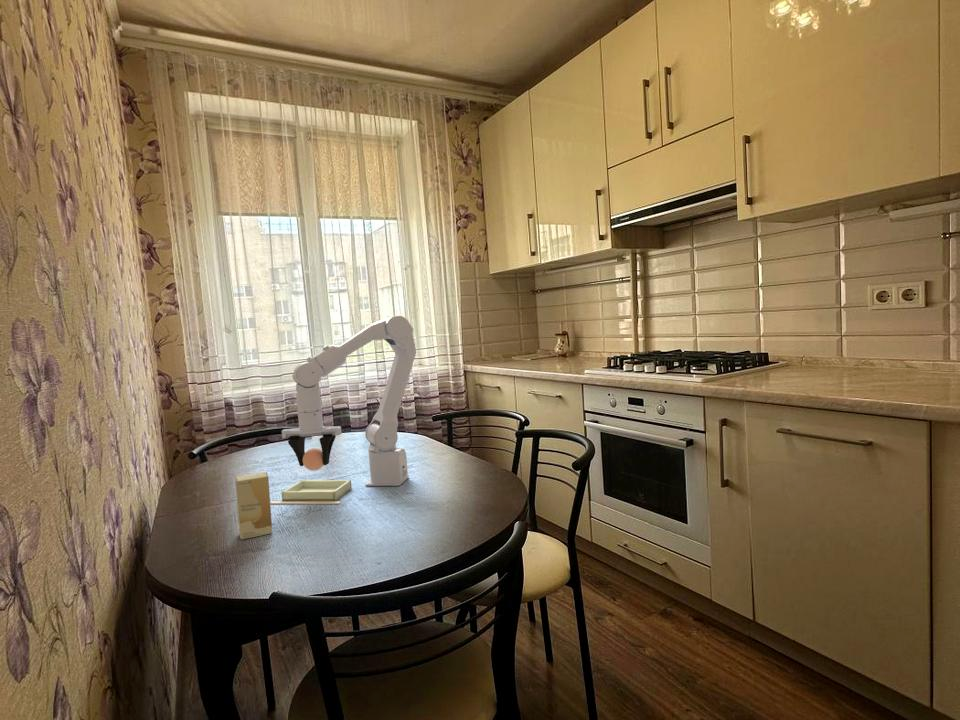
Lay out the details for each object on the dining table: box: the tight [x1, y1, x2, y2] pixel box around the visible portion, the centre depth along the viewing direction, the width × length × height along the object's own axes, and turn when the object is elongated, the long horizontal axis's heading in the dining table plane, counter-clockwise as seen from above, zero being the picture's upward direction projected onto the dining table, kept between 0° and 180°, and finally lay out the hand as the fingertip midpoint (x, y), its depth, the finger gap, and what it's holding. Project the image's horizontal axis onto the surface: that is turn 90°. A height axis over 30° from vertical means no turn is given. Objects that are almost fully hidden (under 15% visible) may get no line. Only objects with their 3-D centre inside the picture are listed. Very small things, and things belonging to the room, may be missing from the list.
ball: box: [303, 447, 324, 472], centre depth 137 cm, size 6×6×6 cm
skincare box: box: [234, 471, 273, 540], centre depth 113 cm, size 6×4×12 cm
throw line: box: [270, 500, 341, 505], centre depth 132 cm, size 18×1×1 cm, turn 79°
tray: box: [280, 479, 352, 501], centre depth 138 cm, size 14×10×2 cm
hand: (314, 464), depth 137 cm, fingers closed on ball, 5 cm apart
